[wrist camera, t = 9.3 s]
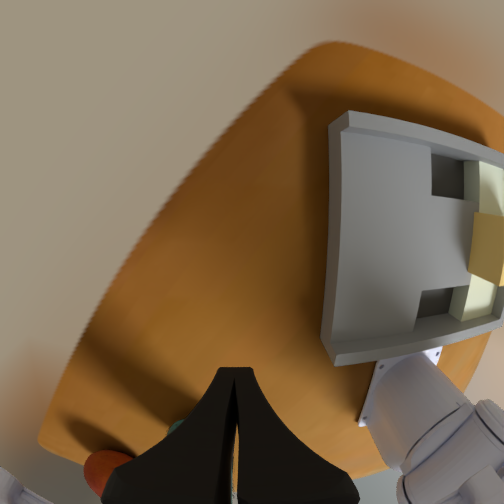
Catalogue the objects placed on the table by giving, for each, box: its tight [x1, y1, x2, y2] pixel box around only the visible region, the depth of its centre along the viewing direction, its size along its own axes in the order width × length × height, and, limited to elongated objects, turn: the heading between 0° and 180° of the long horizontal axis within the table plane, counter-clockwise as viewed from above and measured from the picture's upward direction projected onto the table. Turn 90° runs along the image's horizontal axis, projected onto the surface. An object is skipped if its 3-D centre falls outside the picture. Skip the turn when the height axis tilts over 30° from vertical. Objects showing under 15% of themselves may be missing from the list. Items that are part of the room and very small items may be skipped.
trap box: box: [320, 110, 504, 367], centre depth 17 cm, size 16×19×4 cm
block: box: [468, 212, 504, 286], centre depth 15 cm, size 5×5×4 cm
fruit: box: [84, 450, 134, 498], centre depth 20 cm, size 9×9×8 cm
